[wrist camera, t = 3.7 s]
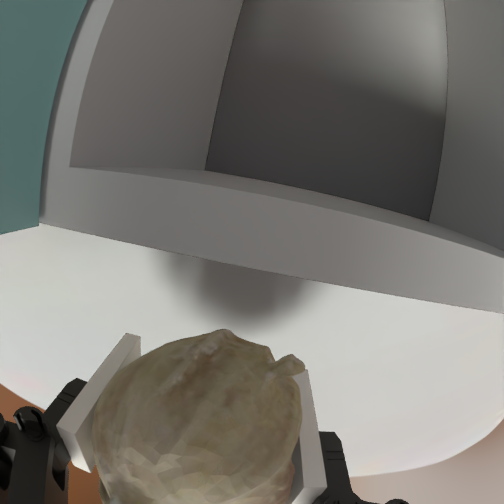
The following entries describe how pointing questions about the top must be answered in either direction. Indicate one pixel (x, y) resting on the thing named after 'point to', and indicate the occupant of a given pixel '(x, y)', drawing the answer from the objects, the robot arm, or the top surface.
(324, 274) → the gray storage box
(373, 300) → the top surface
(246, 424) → the garlic bulb
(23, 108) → the cover
